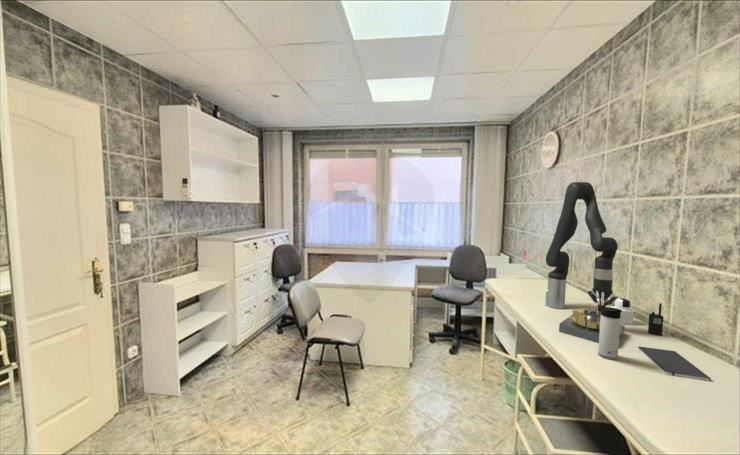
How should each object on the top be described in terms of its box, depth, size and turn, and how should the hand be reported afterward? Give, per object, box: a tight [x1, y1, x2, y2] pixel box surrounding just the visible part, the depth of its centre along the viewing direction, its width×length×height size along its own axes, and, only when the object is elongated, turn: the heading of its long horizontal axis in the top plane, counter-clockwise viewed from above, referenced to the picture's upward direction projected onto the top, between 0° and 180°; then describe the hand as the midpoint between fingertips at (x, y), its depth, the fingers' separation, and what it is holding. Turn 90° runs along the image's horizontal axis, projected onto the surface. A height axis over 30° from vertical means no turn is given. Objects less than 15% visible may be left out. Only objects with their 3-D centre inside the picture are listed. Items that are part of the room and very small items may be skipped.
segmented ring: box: [571, 304, 601, 329], centre depth 150 cm, size 16×24×4 cm
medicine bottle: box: [609, 297, 635, 325], centre depth 162 cm, size 7×7×12 cm
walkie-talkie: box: [647, 303, 664, 337], centre depth 146 cm, size 5×3×15 cm
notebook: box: [637, 346, 712, 382], centre depth 120 cm, size 13×2×21 cm
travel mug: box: [597, 306, 622, 361], centre depth 124 cm, size 6×7×20 cm
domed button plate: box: [558, 312, 626, 344], centre depth 147 cm, size 21×21×8 cm
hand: (601, 312), depth 154 cm, fingers closed
